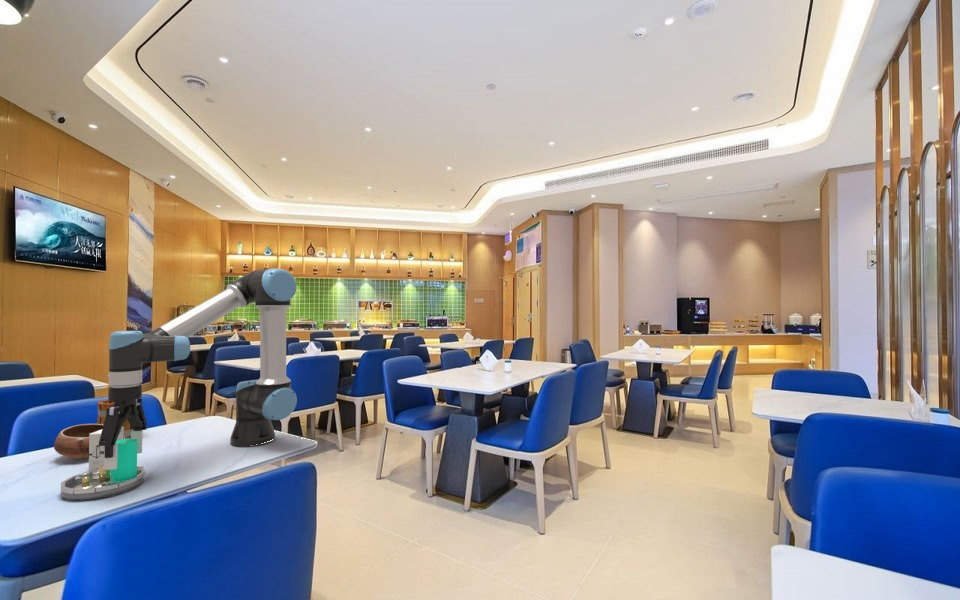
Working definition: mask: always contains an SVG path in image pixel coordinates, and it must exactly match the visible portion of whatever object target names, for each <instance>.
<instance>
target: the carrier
mask: <svg viewBox="0 0 960 600" xmlns="http://www.w3.org/2000/svg"><path fill="white" fill-rule="evenodd" d="M145 476H146V470H145V468H144V467H143V466H140V465H139V466H138V465H137V476H135V477H134V478H131V479H128V480H122V481H111V469H110V470H104V465H102V466H100V467H99V469H96V470H92V471H89V470H88V471H85V472H82V473H78V474H76V475H72V476H70V477H68V478H66V479H65V480H63V481H61V482H60V498H61V499H62V500H63V501H68V502H90V501H96V500H101V499H107V498H112V497H115V496H119V495H122V494H125V493H129V492H131V491H134V490H135V489H137V488H139V487H140V486H141V485H143V484H144V482H145Z"/></svg>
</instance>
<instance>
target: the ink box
mask: <svg viewBox="0 0 960 600" xmlns="http://www.w3.org/2000/svg"><path fill="white" fill-rule="evenodd" d="M101 433H102V430H99V431H96V432H93V433H90V434H89V458H88V471H92V470H96V469H99V467H100V466H102V465H104V446H99V440H100V436H101ZM123 436H124V427H123V426H122V428H121V430H120V433H119V435H118V438H117V441H118V440H122V439H123Z"/></svg>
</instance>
